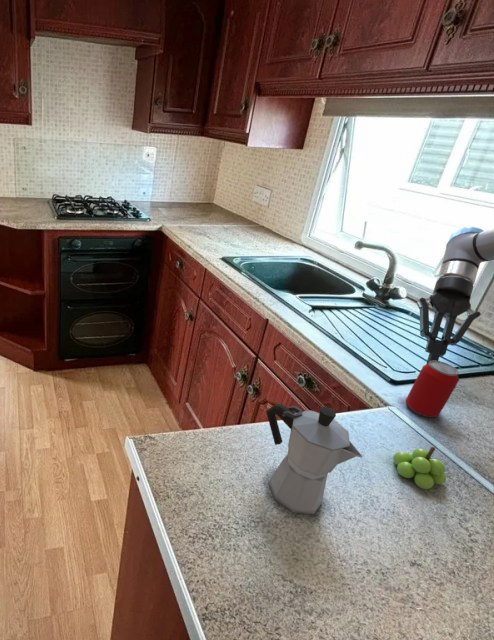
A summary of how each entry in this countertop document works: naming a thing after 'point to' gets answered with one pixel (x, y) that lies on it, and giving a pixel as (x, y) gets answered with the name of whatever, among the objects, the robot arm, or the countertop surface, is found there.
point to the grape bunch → (420, 467)
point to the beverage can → (432, 388)
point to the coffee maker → (307, 455)
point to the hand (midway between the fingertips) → (431, 365)
